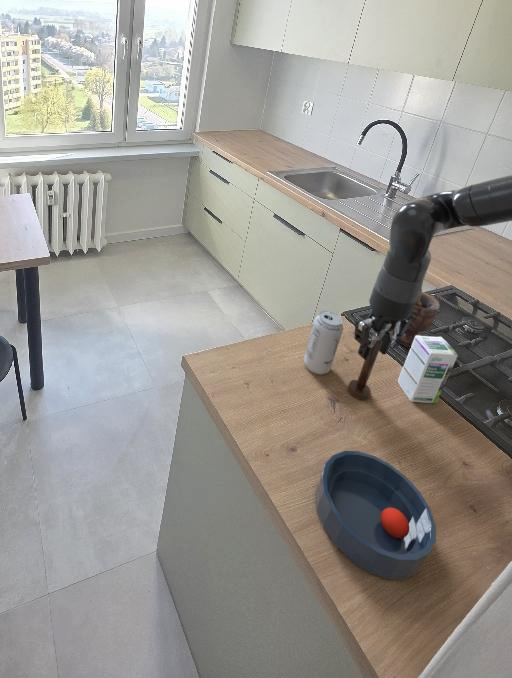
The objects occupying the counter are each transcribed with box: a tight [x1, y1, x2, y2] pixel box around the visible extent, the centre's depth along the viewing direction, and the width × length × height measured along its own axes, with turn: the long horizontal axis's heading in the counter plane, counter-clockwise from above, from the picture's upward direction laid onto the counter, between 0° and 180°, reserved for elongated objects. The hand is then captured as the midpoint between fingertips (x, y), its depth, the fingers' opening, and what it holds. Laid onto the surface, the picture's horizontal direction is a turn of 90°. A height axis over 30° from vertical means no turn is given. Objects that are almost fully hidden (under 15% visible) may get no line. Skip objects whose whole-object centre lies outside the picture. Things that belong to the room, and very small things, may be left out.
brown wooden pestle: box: [347, 339, 382, 401], centre depth 92 cm, size 4×4×16 cm
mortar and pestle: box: [394, 288, 441, 348], centre depth 107 cm, size 12×9×20 cm
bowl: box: [314, 450, 437, 580], centre depth 70 cm, size 16×16×6 cm
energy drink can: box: [303, 310, 344, 376], centre depth 99 cm, size 6×6×15 cm
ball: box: [381, 508, 409, 539], centre depth 68 cm, size 4×4×4 cm
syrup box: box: [397, 335, 459, 404], centre depth 93 cm, size 6×6×14 cm
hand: (372, 353), depth 90 cm, fingers open, 4 cm apart
